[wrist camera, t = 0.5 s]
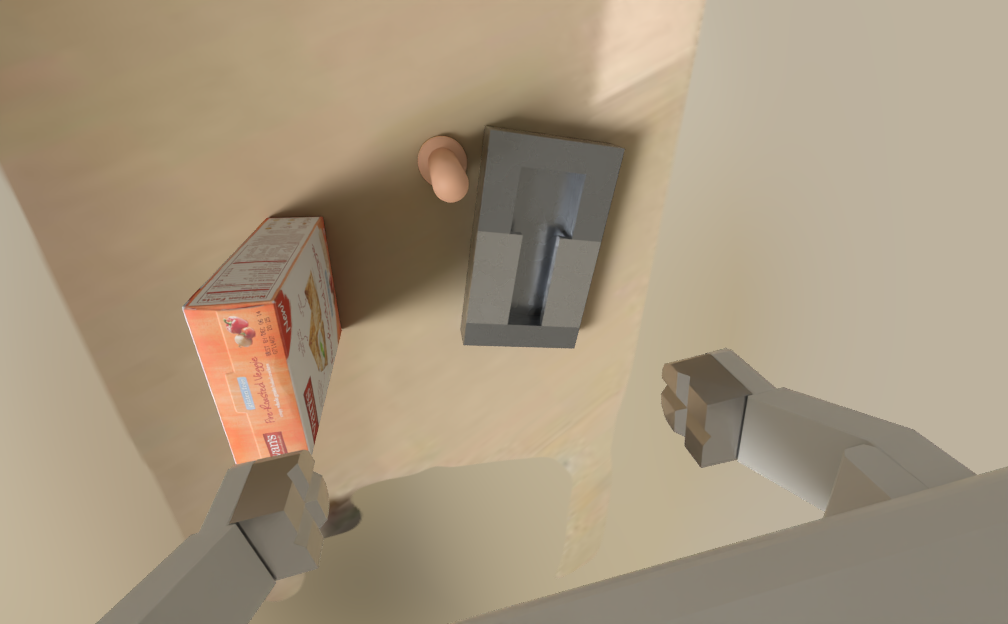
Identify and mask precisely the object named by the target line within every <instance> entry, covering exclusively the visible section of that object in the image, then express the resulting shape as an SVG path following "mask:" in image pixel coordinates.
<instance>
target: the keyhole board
mask: <svg viewBox="0 0 1008 624" xmlns="http://www.w3.org/2000/svg"><path fill="white" fill-rule="evenodd" d="M624 150H625V149H624V148H622V147H619V146H616V145H613V144H610V143H603V142H596V141H589V140H582V139H575V138H568V137H561V136H554V135H547V134H540V133H533V132H526V131H519V130H512V129H505V128H498V127H491V126H485V130H484V138H483V146H482V155H481V163H480V171H479V180H478V188H477V197H476V205H475V213H474V222H473V230H472V238H471V247H470V255H469V263H468V272H467V280H466V288H465V297H464V305H463V313H462V322H461V335H462V340H463V345H477V346H510V347H544V348H574V347H575V343H576V339H577V335H578V332H579V328H580V324H581V320H582V316H583V312H584V308H585V304H586V300H587V296H588V292H589V288H590V284H591V280H592V276H593V272H594V268H595V264H596V261H597V257H598V253H599V249H600V245H601V241H602V237H603V233H604V229H605V225H606V221H607V217H608V213H609V209H610V205H611V201H612V197H613V193H614V190H615V186H616V182H617V178H618V174H619V170H620V166H621V162H622V158H623V154H624Z"/></svg>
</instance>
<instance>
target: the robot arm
mask: <svg viewBox="0 0 1008 624" xmlns="http://www.w3.org/2000/svg"><path fill="white" fill-rule="evenodd" d="M662 379H663V380H664V381H665V382H666V384H667V386H666V387H665V389H664V390H663V392H662V393H661V400H662V401H661V404H662V408H663V412H664V415H665V418H666V420H667V422H668V424H669V425H670V426H671V428H672V430H673V431H674V432H676V433H678V434H680V435H682V436H684V437H685V447H686V449H687V450H688V451H689V453H690V454H691V455H692V457H693V458H694V459H695V460H696V462H697V463H698V465H699V466H700V467H701V468H703V467H707V466H712V465H716V464H720V463H725V462H729V461H733V460H738V462H739V463H741V464H743V465H745V466H746V467H748V468H750V469H751V470H753V471H755V472H757V473H758V474H760V475H762V476H764V477H765V478H767V479H769V480H771V481H772V482H774V483H776V484H778V485H779V486H781V487H783V488H784V489H786V490H788V491H790V492H791V493H793V494H795V495H796V496H798V497H800V498H802V499H803V500H805V501H807V502H809V503H810V504H812V505H814V506H816V507H817V508H819V509H821V510H823V511H824V512H825V513H824V517H823V518H822V519H819V520H815V521H812V522H808V523H804V524H801V525H798V526H794V527H790V528H786V529H783V530H780V531H776V532H772V533H769V534H765V535H762V536H758V537H754V538H751V539H747V540H744V541H740V542H736V543H733V544H729V545H726V546H722V547H719V548H715V549H712V550H708V551H705V552H701V553H697V554H694V555H691V556H687V557H684V558H680V559H677V560H673V561H669V562H666V563H662V564H658V565H655V566H651V567H648V568H644V569H641V570H637V571H634V572H630V573H627V574H623V575H619V576H616V577H612V578H609V579H605V580H602V581H599V582H595V583H591V584H588V585H584V586H581V587H577V588H573V589H570V590H566V591H562V592H559V593H555V594H552V595H548V596H545V597H541V598H537V599H534V600H530V601H527V602H523V603H519V604H516V605H512V606H509V607H505V608H502V609H498V610H494V611H491V612H487V613H484V614H480V615H476V616H473V617H469V618H466V619H462V620H459V621H455V622H452V623H448V624H1008V467H1005V468H1001V469H997V470H994V471H990V472H986V473H983V474H979V475H977V474H975V473H974V472H972V471H971V470H970V469H968V468H967V467H965V466H964V465H963V464H961V463H960V462H958V461H957V460H956V459H954V458H952V457H951V456H950V455H949V454H947V453H946V452H944V451H943V450H942V449H940V448H939V447H937V446H936V445H934V444H933V443H932V442H930V441H929V440H928V439H926V438H925V437H923V436H922V435H920V434H919V433H917V432H916V431H915V430H913V429H910V428H907V427H904V426H901V425H898V424H895V423H892V422H888V421H886V420H883V419H879V418H876V417H873V416H870V415H867V414H864V413H861V412H858V411H855V410H852V409H849V408H846V407H843V406H839V405H836V404H833V403H830V402H827V401H824V400H821V399H818V398H815V397H812V396H809V395H806V394H803V393H799V392H796V391H793V390H790V389H787V388H784V387H783V388H778V389H777V388H775V387H774V386H773V385H772V384H771V383H770V382H768V381H767V380H766V379H765V378H764V377H762V376H761V375H760V374H759V373H758V372H757V371H756V370H754V369H753V368H752V367H751V366H750V365H749V364H747V363H746V362H745V361H744V360H743V359H742V358H740V357H739V356H738V355H737V354H736V353H734V352H733V351H732V350H730V349H727V348H724V349H720V350H717V351H713V352H709V353H706V354H703V355H699V356H695V357H691V358H687V359H682V360H679V361H674V362H670V363H666V364H665V365H664V367H663V370H662ZM314 463H315V461H314V459H313V457H312V455H311V454H310V452H309V451H308V450H299V451H295V452H290V453H285V454H281V455H276V456H271V457H267V458H262V459H258V460H255V461H250V462H245V463H241V464H236V465H233V466H232V467H231V468H230V469H228V471H227V473H226V475H225V477H224V479H223V481H222V484H221V486H220V488H219V490H218V492H217V494H216V497H215V499H214V501H213V503H212V505H211V508H210V510H209V512H208V514H207V516H206V518H205V521H204V523H203V525H202V527H201V529H200V531H199V533H196V534H192V535H190V536H189V537H188V538H187V539H186V540H185V541H184V542H183V543H182V544H181V545H180V546H178V547H177V548H176V549H175V550H174V551H173V552H172V553H171V554H170V555H169V556H168V557H167V558H166V559H164V560H163V561H162V562H161V563H160V564H159V565H158V566H157V567H156V568H155V569H154V570H153V571H152V572H151V573H149V574H148V575H147V576H146V577H145V578H144V579H143V580H142V581H141V582H140V583H139V584H138V585H137V586H136V587H134V588H133V589H132V590H131V591H130V592H129V593H128V594H127V595H126V596H125V597H124V598H123V599H122V600H120V601H119V602H118V603H117V604H116V605H115V606H114V607H113V608H112V609H111V610H110V611H109V612H108V613H106V614H105V615H104V617H102V618H101V619H100V620H99V621H98V622H97V623H96V624H248V623H249V622H250V620H251V619H252V617H253V616H254V614H255V613H256V612H257V610H258V609H259V607H260V606H261V604H262V603H263V601H264V600H265V599H266V597H267V596H268V594H269V593H270V591H271V590H272V588H273V587H274V585H275V584H276V582H275V581H276V580H280V579H283V578H286V577H290V576H293V575H297V574H300V573H304V572H307V571H311V570H314V569H317V568H318V567H319V562H320V556H321V551H322V546H323V540H324V538H323V536H322V534H321V532H320V530H319V529H320V528H321V527H322V525H323V524H324V523H325V522H326V520H327V518H328V512H329V494H328V490H327V486H326V483H325V481H324V479H323V477H322V475H320V474H318V473H316V472H314V471H313V468H314Z"/></svg>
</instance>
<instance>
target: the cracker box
mask: <svg viewBox="0 0 1008 624" xmlns="http://www.w3.org/2000/svg"><path fill="white" fill-rule="evenodd" d="M182 309H183V312H184V315H185V318H186V321H187V324H188V327H189V330H190V333H191V336H192V338H193V341H194V344H195V347H196V350H197V353H198V356H199V359H200V361H201V364H202V367H203V370H204V373H205V376H206V379H207V382H208V385H209V388H210V390H211V393H212V396H213V399H214V402H215V404H216V407H217V410H218V413H219V416H220V419H221V422H222V425H223V428H224V430H225V433H226V436H227V439H228V442H229V444H230V447H231V451H232V454H233V457H234V460H235V463H236V464H241V463H245V462H250V461H255V460H258V459H262V458H267V457H271V456H276V455H281V454H285V453H290V452H295V451H299V450H308V451H309V452H310V454H311V455H312V452H313V448H314V444H315V440H316V435H317V432H318V427H319V423H320V419H321V414H322V410H323V406H324V402H325V398H326V394H327V389H328V385H329V381H330V377H331V373H332V369H333V364H334V360H335V356H336V352H337V348H338V344H339V340H340V335H341V331H342V330H341V325H340V319H339V313H338V307H337V300H336V295H335V289H334V282H333V276H332V270H331V264H330V258H329V251H328V246H327V240H326V233H325V227H324V221H323V217H290V218H266V219H265V220H264V221H263V222H262V223H261V224H260V226H259V227H258V228H257V229H256V230H255V231H254V232H253V233H252V234H251V235H250V236H249V237H248V238H247V239H246V240H245V241H244V242H243V243H242V244H241V245H240V246H239V248H238V249H237V250H236V251H235V252H234V253H233V254H232V255H231V256H230V257H229V258H228V259H227V260H226V261H225V262H224V263H223V264H222V265H221V266H220V267H219V268H218V270H217V271H216V272H215V273H214V274H213V275H212V276H211V277H210V278H209V279H208V280H207V281H206V282H205V283H204V284H203V285H202V286H201V287H200V288H199V289H198V290H197V291H196V292H195V293H194V294H193V296H192V297H191V298H190V299H189V300H188V301H187V302H186V303H185V304H184V305H183V306H182Z"/></svg>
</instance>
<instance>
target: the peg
mask: <svg viewBox="0 0 1008 624" xmlns="http://www.w3.org/2000/svg"><path fill="white" fill-rule="evenodd" d="M418 167H419V171H420V173H421V175H422V176H423V178H424V179H425V180H426V181H427V182H428V183H430V184H431V185H432V186H433V190H434V192H435V194H436V195H437V197H438V198H440V199H441V200H443V201H445V202H457V201H459V200H461V199H462V198H463V197H464V196H465V195H466V193H467V191H468V188H469V181H468V177H467V175H466V169H467V157H466V154H465V151H464V149H463V148H462V146H461V145H460V144H459V143H458V142H457V141H456V140H454V139H453V138H451V137H448V136H435V137H432V138H430V139H428V140H427V141H426V142H425V143H424V144H423V145H422V146H421V148H420V150H419V154H418Z"/></svg>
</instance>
